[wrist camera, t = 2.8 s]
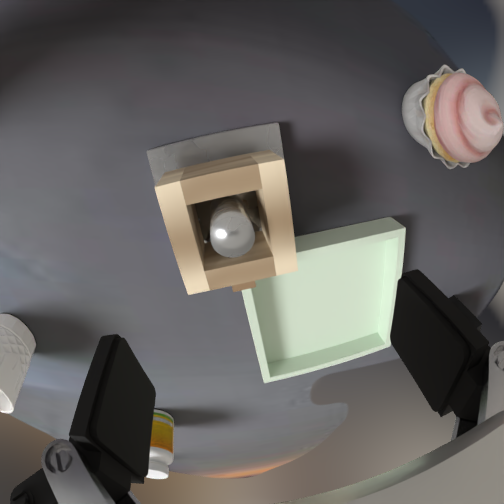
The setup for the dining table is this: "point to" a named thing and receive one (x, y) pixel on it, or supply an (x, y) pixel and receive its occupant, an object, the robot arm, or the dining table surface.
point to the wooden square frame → (221, 185)
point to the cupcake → (452, 117)
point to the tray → (328, 300)
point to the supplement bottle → (161, 445)
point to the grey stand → (230, 207)
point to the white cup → (13, 359)
